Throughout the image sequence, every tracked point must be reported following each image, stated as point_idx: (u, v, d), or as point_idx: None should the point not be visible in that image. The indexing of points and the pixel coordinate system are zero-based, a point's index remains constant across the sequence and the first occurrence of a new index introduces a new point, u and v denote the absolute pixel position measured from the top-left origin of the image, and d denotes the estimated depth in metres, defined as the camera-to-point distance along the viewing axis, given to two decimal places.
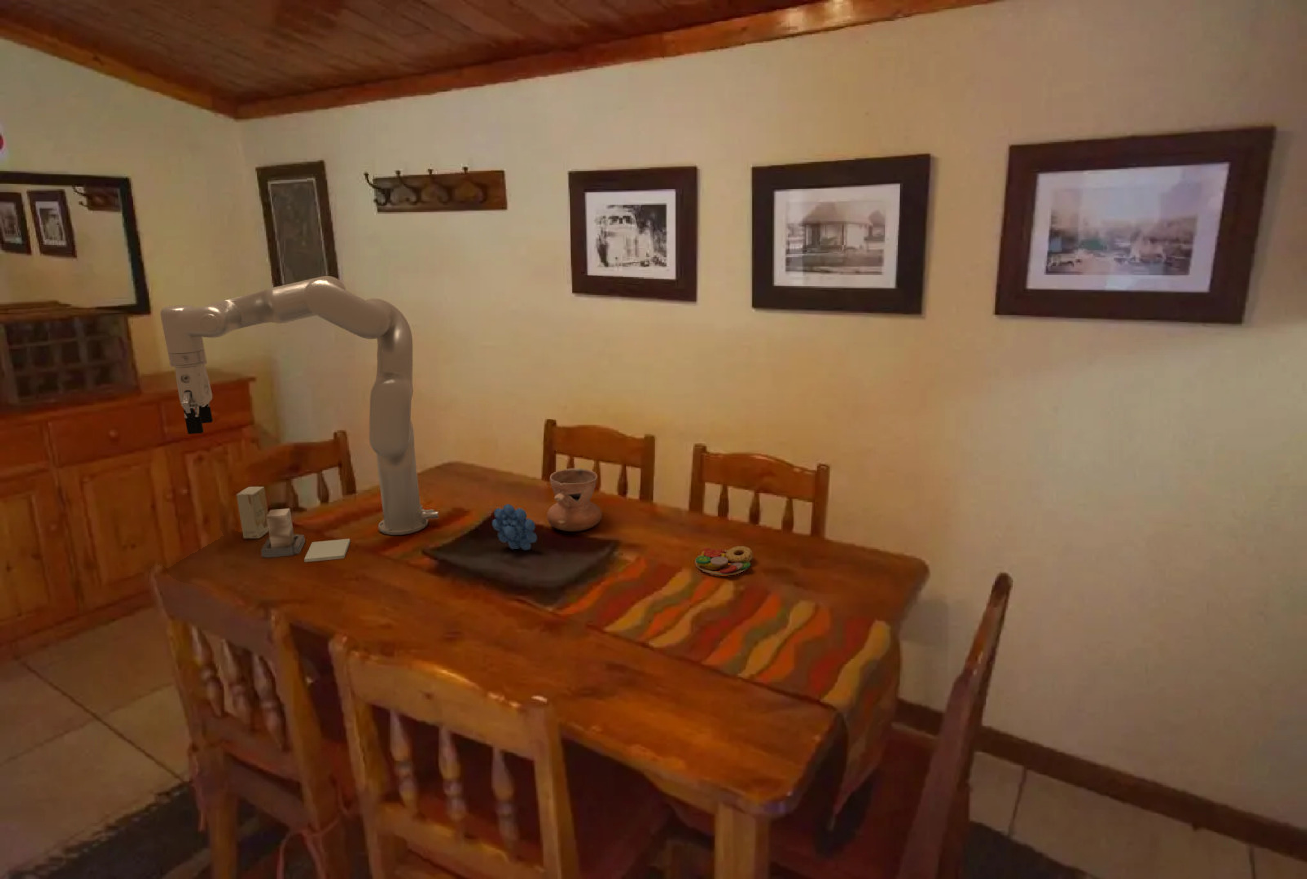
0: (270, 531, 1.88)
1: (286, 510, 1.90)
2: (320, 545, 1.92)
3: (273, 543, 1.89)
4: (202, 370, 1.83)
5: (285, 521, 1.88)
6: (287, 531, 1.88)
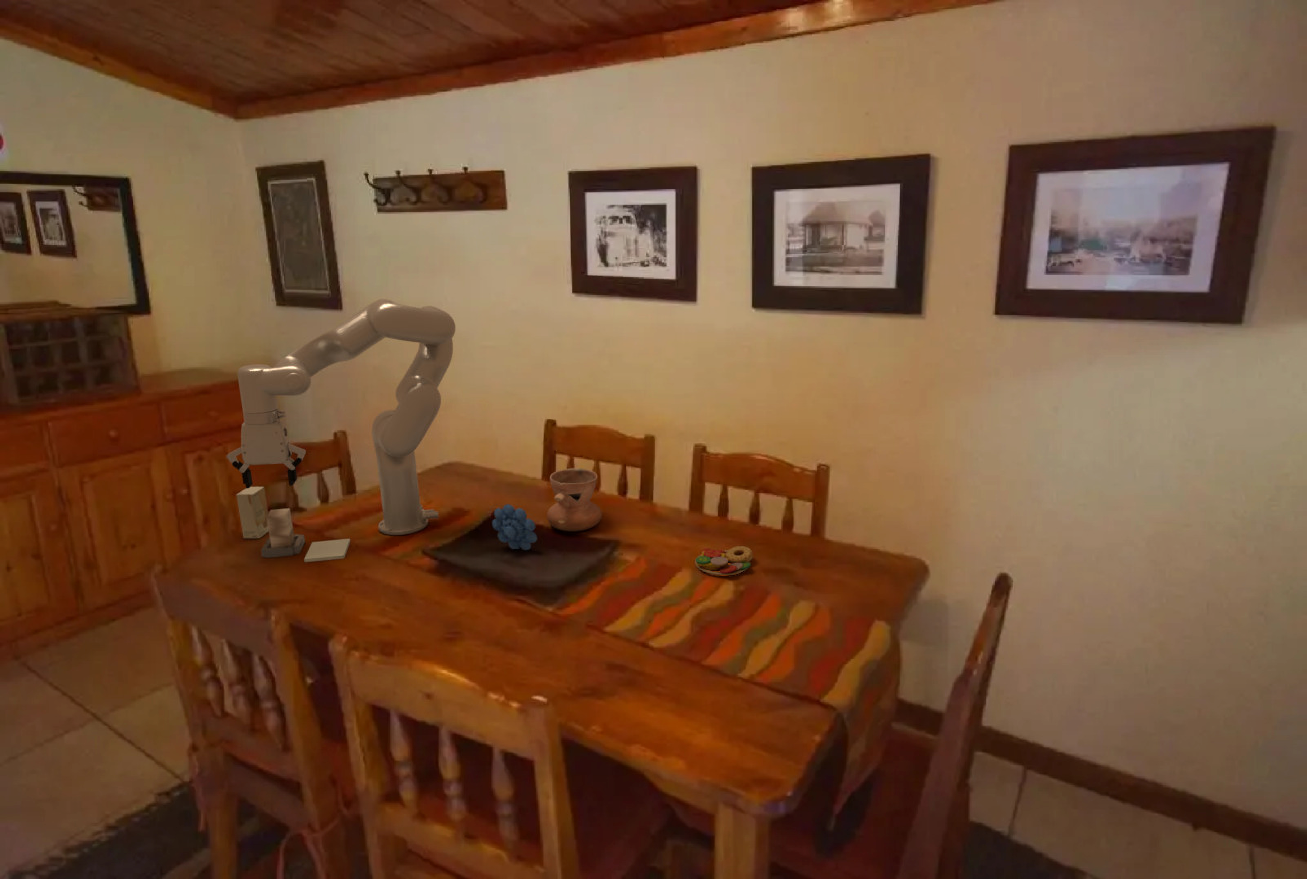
0: (270, 531, 1.88)
1: (286, 510, 1.90)
2: (320, 545, 1.92)
3: (273, 543, 1.89)
4: None
5: (285, 521, 1.88)
6: (287, 531, 1.88)
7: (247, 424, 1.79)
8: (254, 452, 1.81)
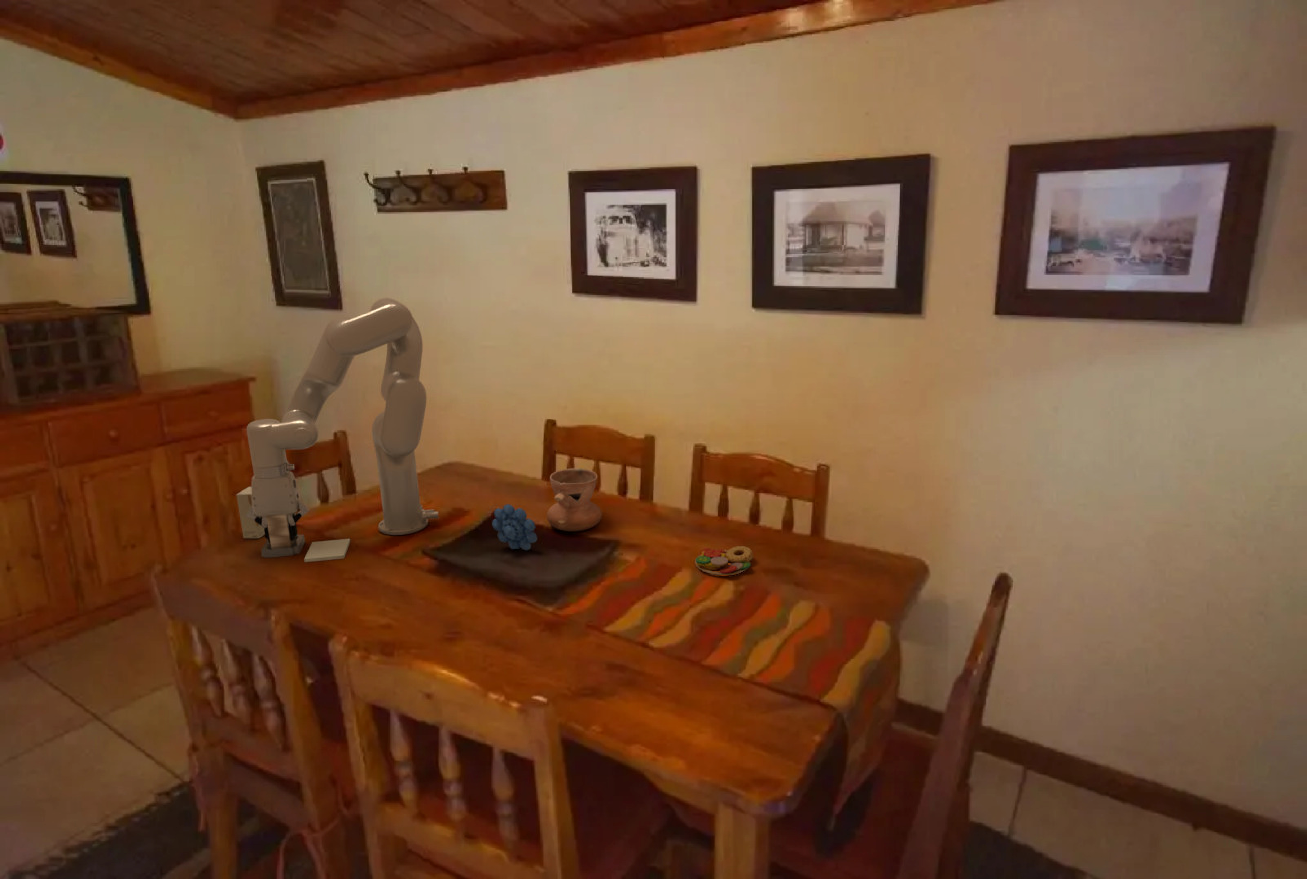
0: (270, 531, 1.88)
1: None
2: (320, 545, 1.92)
3: (273, 543, 1.89)
4: None
5: (285, 521, 1.88)
6: (287, 531, 1.88)
7: (257, 478, 1.83)
8: (264, 504, 1.85)
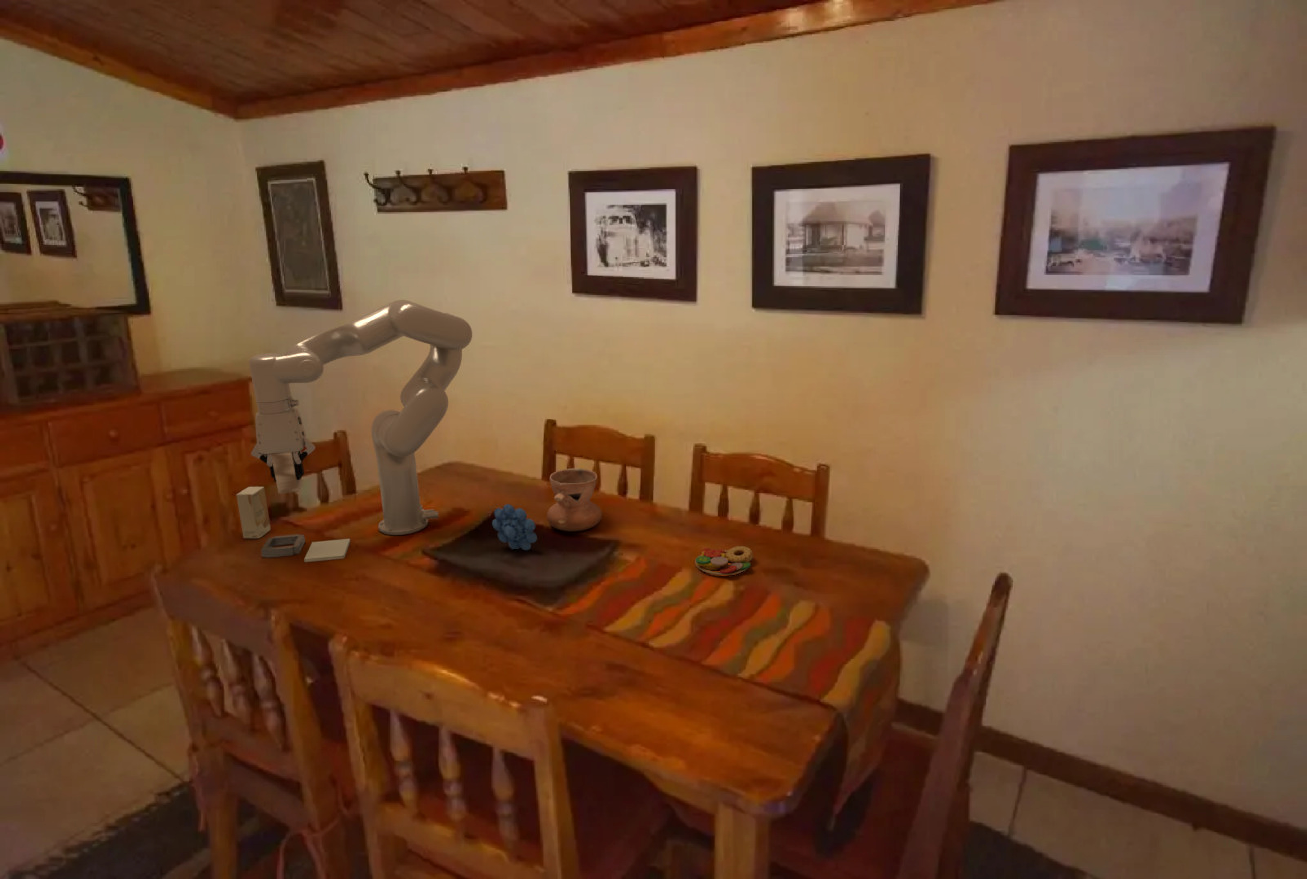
0: (275, 469, 1.83)
1: None
2: (320, 545, 1.92)
3: (279, 482, 1.84)
4: None
5: (290, 459, 1.83)
6: (293, 469, 1.83)
7: (261, 414, 1.78)
8: (269, 442, 1.80)
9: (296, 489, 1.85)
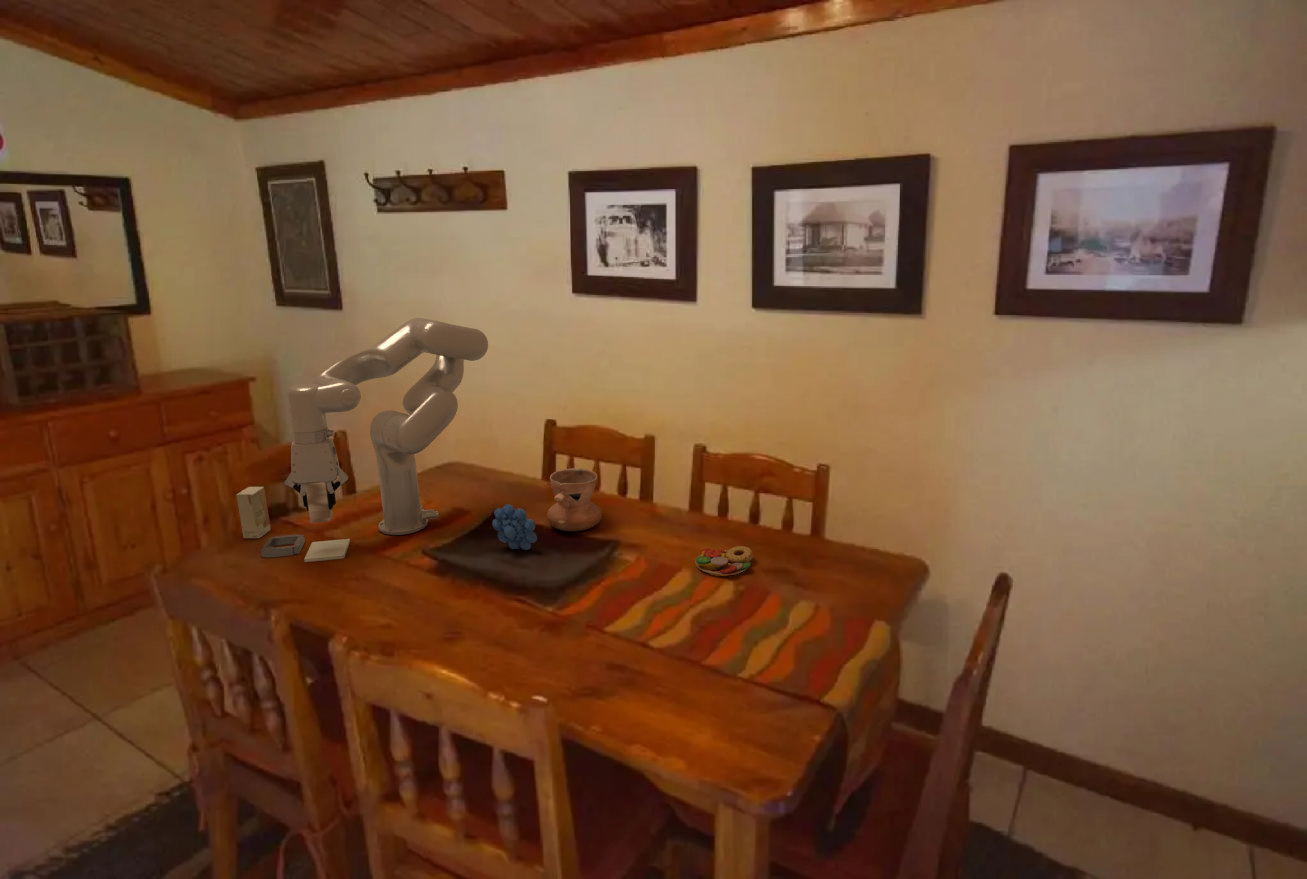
0: (308, 499, 1.83)
1: None
2: (320, 545, 1.92)
3: (312, 512, 1.84)
4: None
5: (324, 489, 1.83)
6: (326, 499, 1.84)
7: (297, 443, 1.79)
8: (304, 471, 1.81)
9: (328, 518, 1.86)
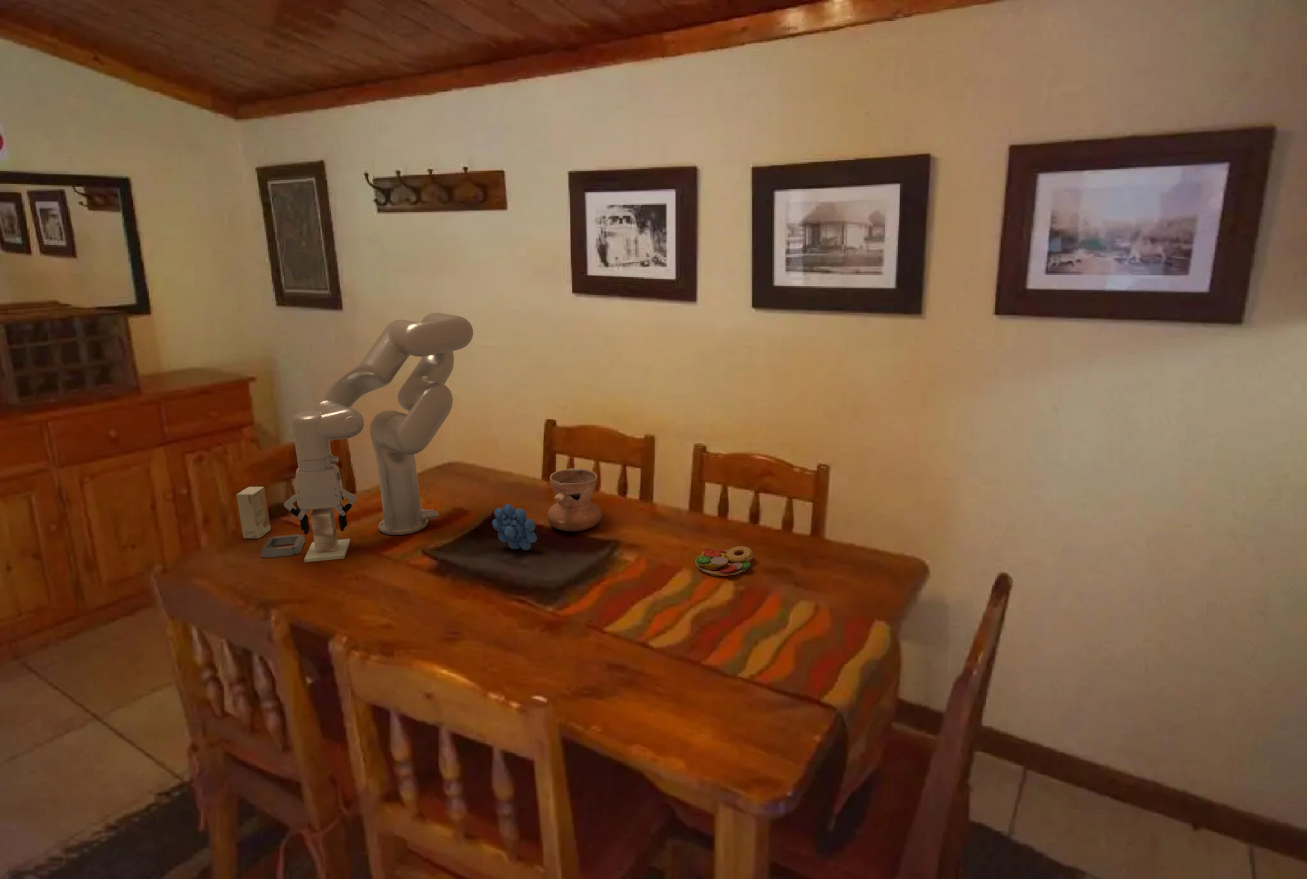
0: (314, 530, 1.86)
1: (329, 509, 1.88)
2: None
3: (317, 542, 1.87)
4: None
5: (329, 520, 1.86)
6: (331, 530, 1.87)
7: (302, 471, 1.81)
8: (309, 498, 1.83)
9: (333, 549, 1.88)
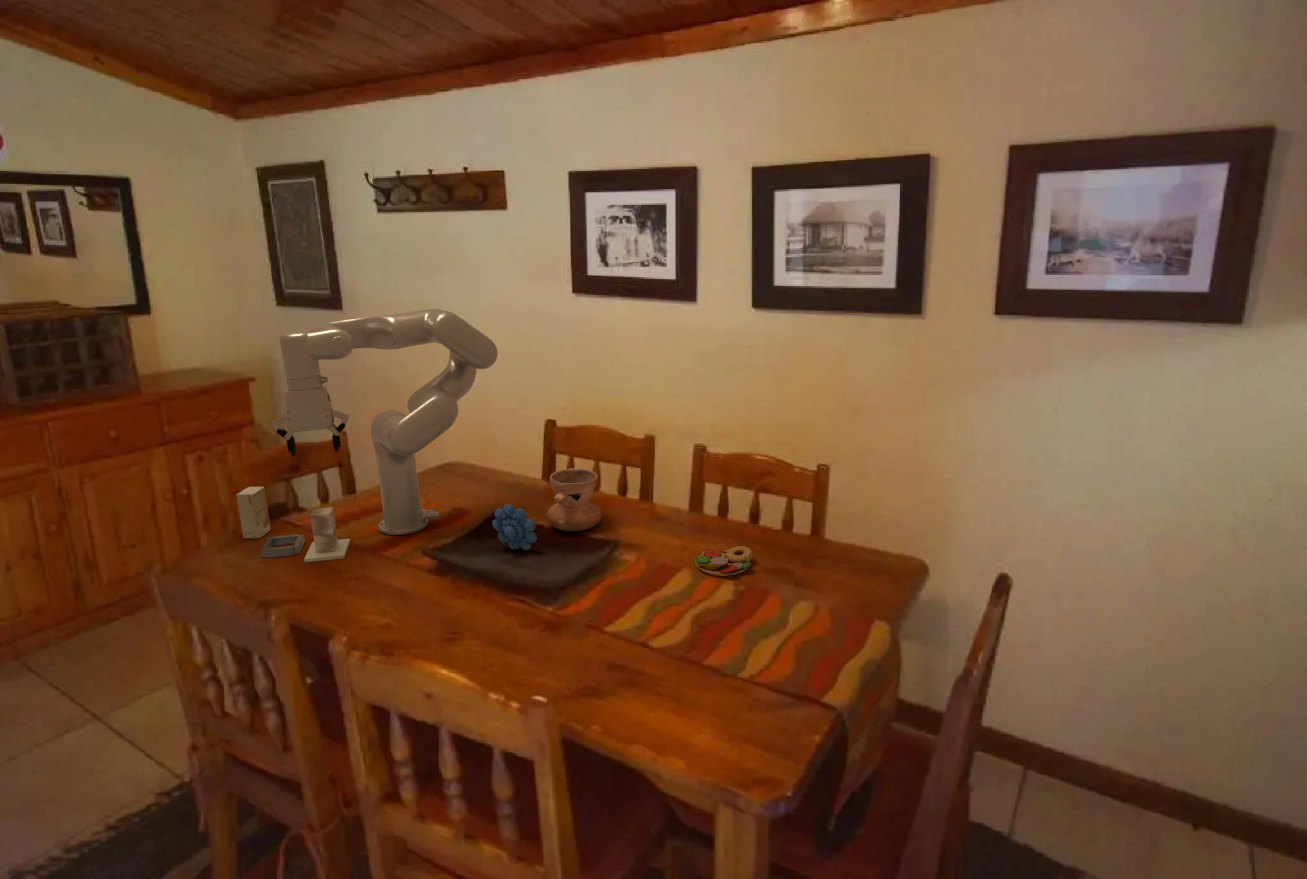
0: (314, 530, 1.86)
1: (330, 509, 1.88)
2: None
3: (317, 542, 1.87)
4: None
5: (329, 520, 1.86)
6: (331, 530, 1.87)
7: (292, 390, 1.78)
8: (299, 419, 1.81)
9: (333, 549, 1.88)
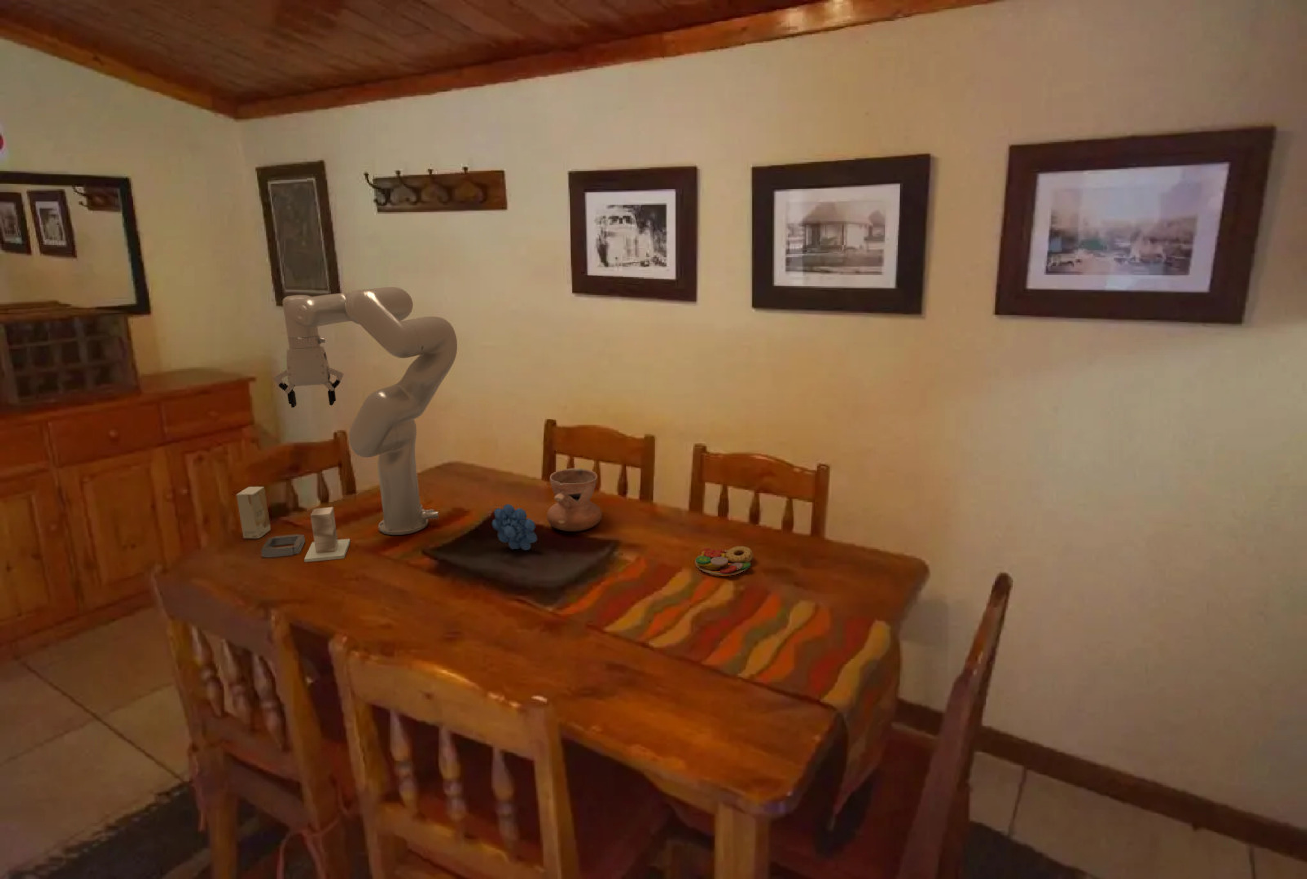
0: (314, 530, 1.86)
1: (330, 509, 1.88)
2: None
3: (317, 542, 1.87)
4: None
5: (329, 520, 1.86)
6: (331, 530, 1.87)
7: (292, 348, 2.01)
8: (298, 374, 2.03)
9: (333, 549, 1.88)
